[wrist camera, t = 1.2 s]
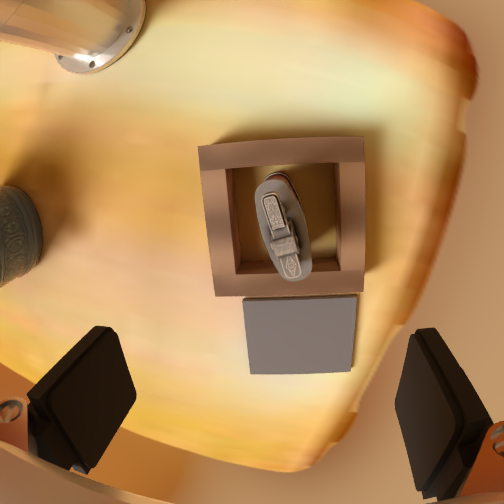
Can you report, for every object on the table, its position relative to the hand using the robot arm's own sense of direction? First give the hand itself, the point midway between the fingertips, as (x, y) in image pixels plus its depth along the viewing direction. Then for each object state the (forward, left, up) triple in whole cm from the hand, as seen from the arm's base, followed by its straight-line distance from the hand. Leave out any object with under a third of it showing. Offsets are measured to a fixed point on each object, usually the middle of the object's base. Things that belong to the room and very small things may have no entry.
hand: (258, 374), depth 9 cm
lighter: (0, 0, -23) cm, 23 cm away
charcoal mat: (+14, +1, -23) cm, 27 cm away
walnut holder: (0, 0, -23) cm, 23 cm away
